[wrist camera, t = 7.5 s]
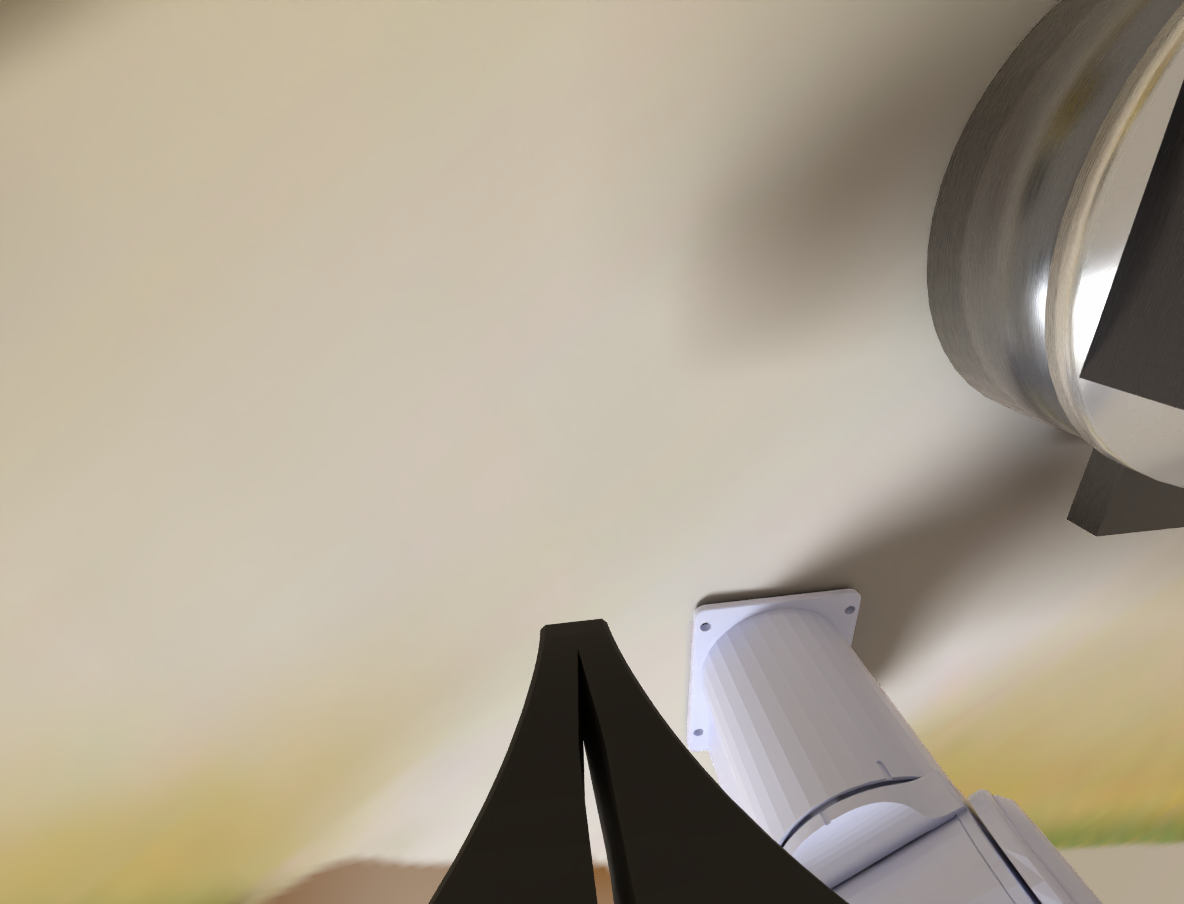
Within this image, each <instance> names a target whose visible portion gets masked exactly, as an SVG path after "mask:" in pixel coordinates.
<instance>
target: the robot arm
mask: <svg viewBox="0 0 1184 904" xmlns="http://www.w3.org/2000/svg"><path fill="white" fill-rule="evenodd" d="M860 603H861V596H860V594H859V593H858V592H857V591H856V590H855V589H840V590H832V591H823V592H814V593H805V594H796V595H787V596H778V597H769V598H760V599H751V600H742V601H733V602H725V603H716V604H707V605H702V606H699V607H698V608H697V609H696V610H695V611H694V614H693V630H692V649H691V667H690V685H689V704H688V722H687V740H686V741H687V745H688V748H689V749H690V750H691V751H694V752H698V751H705V750H708V752H709V754H710V757H711V760H712V763H713V766H714V769H715V772H716V775H717V778H718V780H719V783H720V786H721V787H720V786H719V785H718V784H717V783H716V782H715V780H714V779H713V778H712V777H711V776H710V775H709V774H708V773H707V772H706V771H705V769H704V768H703V767H702V766H701V765H700V764H699V762H698V761H697V760H696V759H695V758H694V757H693V755H692V754H691V753H690V752H689V751H688V750H687V748H686V747H685V746H684V745H683V743H682V742H681V741H680V740H679V738H678V737H677V736H676V734H675V733H674V732H673V731H672V729H671V728H670V727H669V725H668V724H667V723H666V721H665V720H664V719H663V717H662V716H661V715H660V713H659V712H658V710H657V709H656V708H655V706H654V705H653V703H652V702H651V700H650V699H649V697H648V696H647V694H646V693H645V691H644V690H643V688H642V687H641V685H640V684H639V682H638V681H637V679H636V678H635V676H634V674H633V673H632V671H631V669H630V668H629V666H628V664H627V663H626V661H625V659H624V657H623V655H622V654H621V652H620V650H619V648H618V646H617V644H616V642H615V640H614V638H613V636H612V634H611V632H610V629H609V627H608V624H607V622H605V621H604V620H603V619H595V620H586V621H577V622H569V623H560V624H551V625H545V626H544V627H543V628H542V629H541V630H540V643H539V650H538V655H537V660H536V664H535V669H534V673H533V677H532V680H531V684H530V687H529V690H528V694H527V697H526V700H525V704H524V707H523V710H522V713H521V716H520V719H519V721H518V724H517V727H516V730H515V732H514V735H513V738H512V740H511V743H510V746H509V748H508V751H507V753H506V756H505V758H504V761H503V763H502V765H501V768H500V770H499V772H498V775H497V777H496V779H495V781H494V783H493V786H492V788H491V790H490V792H489V794H488V796H487V798H486V801H485V803H484V805H483V807H482V809H481V811H480V813H479V815H478V816H477V818H476V820H475V822H474V824H473V826H472V828H471V830H470V832H469V834H468V836H467V838H466V840H465V842H464V844H463V845H462V847H461V849H460V851H459V853H458V855H457V856H456V858H455V860H454V862H453V863H452V865H451V867H450V868H449V870H448V872H447V874H446V875H445V877H444V878H443V880H442V882H441V884H440V885H439V887H438V889H437V891H436V892H435V894H434V895H433V897H432V899H431V900H430V902H429V904H597V896H596V888H595V881H594V873H593V864H592V856H591V848H590V840H589V832H588V823H587V815H586V807H585V790H584V749H583V741H584V746H585V751H586V755H587V760H588V765H589V770H590V775H591V780H592V785H593V790H594V794H595V799H596V804H597V809H598V814H599V819H600V824H601V828H602V833H603V838H604V843H605V848H606V853H607V859H608V865H609V871H610V876H611V884H612V892H613V900H614V904H1103V903H1102V902H1101V901H1100V900H1099V898H1098V897H1097V896H1096V895H1095V894H1094V893H1093V891H1092V890H1091V889H1090V888H1089V887H1088V885H1087V884H1086V883H1085V882H1084V881H1083V879H1082V878H1081V877H1080V876H1079V875H1078V874H1077V872H1076V871H1075V870H1074V869H1073V868H1072V866H1071V865H1070V864H1069V863H1068V862H1067V861H1066V859H1065V858H1064V857H1063V856H1062V855H1061V854H1060V852H1059V851H1058V850H1057V849H1056V848H1055V847H1054V845H1053V844H1052V843H1051V842H1050V841H1049V840H1048V838H1047V837H1046V836H1045V835H1044V834H1043V833H1042V831H1041V830H1040V829H1039V828H1038V827H1037V826H1036V825H1035V823H1034V822H1033V821H1032V820H1031V819H1030V818H1029V817H1028V815H1027V814H1026V813H1025V812H1024V811H1023V810H1022V809H1021V808H1020V807H1019V805H1018V804H1017V803H1016V802H1015V801H1013V800H1012V799H1008V798H1005V797H1002V796H999V795H994V796H993V795H992V794H991V793H990V792H989V791H988V790H985V789H980V790H978V791H976V792H975V793H973V794H971V795H970V796H969V800H968V799H967V798H966V797H965V796H964V795H963V794H962V793H961V792H960V791H959V790H958V789H957V788H956V787H955V786H954V784H953V783H952V782H951V780H950V779H949V778H948V776H947V775H946V774H945V772H944V771H943V770H942V768H941V767H940V766H939V764H938V763H937V761H936V760H935V759H934V757H933V756H932V755H931V753H930V752H929V751H928V749H927V748H926V747H925V745H924V744H923V743H922V741H921V740H920V739H919V737H918V736H917V735H916V733H915V732H914V731H913V729H912V728H911V727H910V725H909V724H908V723H907V721H906V720H905V719H904V717H903V716H902V715H901V713H900V712H899V711H898V709H897V708H896V707H895V705H894V704H893V703H892V701H891V700H890V699H889V697H888V696H887V695H886V693H885V692H884V691H883V689H882V688H881V687H880V685H879V684H878V683H877V681H876V680H875V679H874V677H873V676H872V675H871V673H870V672H869V671H868V669H867V668H866V667H865V665H864V664H863V663H862V661H861V660H860V659H859V657H858V656H857V655H856V653H855V652H854V650H853V649H852V648H851V645H852V640H853V636H854V631H855V626H856V622H857V617H858V612H859V608H860ZM847 607H848V608H847ZM706 622H707V624H706V625H702V624H703V623H706Z"/></svg>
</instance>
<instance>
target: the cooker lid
mask: <svg viewBox="0 0 1184 904" xmlns="http://www.w3.org/2000/svg"><path fill="white" fill-rule="evenodd" d="M1045 345H1046V352H1047V359H1048V366H1049V373H1050V376H1051V379H1052V382H1053V385H1054V388H1055V392H1056V395H1057V398H1058V400H1059V402H1060V404H1061V406H1062V408H1063V410H1064V412H1065V413H1066V415H1067V417H1068V419H1069V421H1070V423H1071V424H1072V425H1073V426H1074V428H1075V429H1076V430H1077V431H1078V432H1079V434H1080V435H1081V436H1082V437H1083V438H1084V439H1085V441H1086V442H1087V443H1089V444H1090V445H1091V446H1093V447H1094V448H1095V449H1096V450H1098V451H1099V452H1100V453H1101V454H1103V455H1104V456H1105V457H1107V458H1109V459H1111V460H1113V461H1115V462H1117V463H1119V464H1121V465H1123V466H1125V467H1128V468H1130V469H1132V470H1134V471H1137V472H1139V473H1141V474H1144V475H1146V476H1148V477H1151V478H1153V479H1155V480H1158V481H1161V482H1164V483H1168V484H1171V485H1175V486H1178V487H1182V488H1184V2H1183V3H1182V4H1181V5H1180V6H1179V8H1178V9H1177V10H1176V11H1175V13H1174V14H1173V15H1172V16H1171V18H1170V19H1169V20H1168V21H1167V23H1166V24H1165V25H1164V26H1163V28H1162V29H1161V30H1160V32H1159V33H1158V35H1157V36H1156V38H1155V39H1154V41H1153V42H1152V44H1151V45H1150V46H1149V48H1148V49H1147V51H1146V52H1145V54H1144V55H1143V57H1142V58H1141V60H1140V61H1139V63H1138V64H1137V66H1136V67H1135V68H1134V70H1133V71H1132V73H1131V74H1130V76H1129V77H1128V79H1127V81H1126V82H1125V84H1124V86H1123V88H1122V89H1121V91H1120V93H1119V95H1118V96H1117V98H1116V100H1115V102H1114V103H1113V105H1112V107H1111V109H1110V110H1109V112H1108V114H1107V116H1106V118H1105V119H1104V121H1103V123H1102V125H1101V126H1100V128H1099V130H1098V132H1097V135H1096V137H1095V139H1094V141H1093V143H1092V145H1091V148H1090V150H1089V152H1088V154H1087V156H1086V158H1085V161H1084V163H1083V165H1082V167H1081V169H1080V171H1079V174H1078V176H1077V178H1076V181H1075V184H1074V187H1073V190H1072V192H1071V195H1070V198H1069V201H1068V204H1067V207H1066V209H1065V212H1064V215H1063V218H1062V221H1061V224H1060V228H1059V232H1058V236H1057V240H1056V244H1055V248H1054V252H1053V256H1052V260H1051V265H1050V271H1049V279H1048V286H1047V294H1046V302H1045Z"/></svg>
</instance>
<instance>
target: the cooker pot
mask: <svg viewBox="0 0 1184 904" xmlns="http://www.w3.org/2000/svg"><path fill="white" fill-rule="evenodd" d="M1183 2H1184V0H1062V1H1061V2H1060V3H1059V4H1058V5H1057V6H1056V7H1055V8H1054V9H1053V10H1052V11H1050V12H1049V13H1048V14H1047V15H1046V16H1045V17H1044V18H1043V19H1042V20H1041V21H1040V22H1039V24H1038V25H1037V26H1036V27H1035V28H1034V29H1033V30H1032V31H1031V33H1030V34H1029V35H1028V36H1027V37H1026V38H1025V39H1024V40H1023V42H1022V43H1021V44H1020V45H1019V46H1018V47H1017V48H1016V50H1015V51H1014V52H1013V54H1012V55H1011V56H1010V58H1009V59H1008V60H1007V62H1006V63H1005V64H1004V66H1003V67H1002V68H1001V70H1000V71H999V73H998V74H997V75H996V77H995V78H994V79H993V81H992V82H991V84H990V85H989V87H988V89H987V90H986V92H985V94H984V95H983V97H982V99H981V100H980V102H979V104H978V105H977V107H976V109H975V110H974V112H973V114H972V115H971V117H970V119H969V121H968V123H967V125H966V127H965V129H964V131H963V134H962V136H961V138H960V140H959V142H958V144H957V146H956V148H955V150H954V153H953V155H952V158H951V161H950V163H949V166H948V169H947V171H946V174H945V177H944V179H943V182H942V185H941V188H940V192H939V196H938V200H937V204H936V207H935V211H934V215H933V220H932V226H931V233H930V239H929V246H928V263H927V284H928V295H929V306H930V310H931V314H932V318H933V322H934V327H935V330H936V333H937V335H938V338H939V340H940V342H941V345H942V347H943V350H944V352H945V353H946V355H947V357H948V358H949V360H950V361H951V363H952V365H953V366H954V368H955V369H956V370H957V371H958V373H959V374H960V375H961V376H962V377H963V378H964V379H965V380H966V381H967V382H968V384H969V385H971V386H972V387H973V388H975V389H976V390H977V391H979V392H980V393H981V394H983V395H984V396H985V397H987V398H989V399H991V400H993V401H995V402H997V403H999V404H1001V405H1003V406H1006V407H1008V408H1011V409H1013V410H1015V411H1018V412H1020V413H1023V414H1025V415H1027V416H1030V417H1032V418H1035V419H1037V420H1039V421H1042V422H1044V423H1047V424H1049V425H1051V426H1054V427H1056V428H1059V429H1061V430H1063V431H1066V432H1068V433H1071V434H1073V435H1075V436H1078V437H1080V438H1082V439H1084V438H1083V437H1082V436H1081V435H1080V434H1079V432H1078V431H1077V430H1076V429H1075V428H1074V426H1073V425H1072V424H1071V423H1070V421H1069V419H1068V417H1067V415H1066V413H1065V412H1064V410H1063V408H1062V406H1061V404H1060V402H1059V400H1058V398H1057V395H1056V392H1055V388H1054V385H1053V382H1052V379H1051V376H1050V373H1049V366H1048V359H1047V352H1046V345H1045V302H1046V294H1047V286H1048V279H1049V271H1050V265H1051V260H1052V256H1053V252H1054V248H1055V244H1056V240H1057V236H1058V232H1059V228H1060V224H1061V221H1062V218H1063V215H1064V212H1065V209H1066V207H1067V204H1068V201H1069V198H1070V195H1071V192H1072V190H1073V187H1074V184H1075V181H1076V178H1077V176H1078V174H1079V171H1080V169H1081V167H1082V165H1083V163H1084V161H1085V158H1086V156H1087V154H1088V152H1089V150H1090V148H1091V145H1092V143H1093V141H1094V139H1095V137H1096V135H1097V132H1098V130H1099V128H1100V126H1101V125H1102V123H1103V121H1104V119H1105V118H1106V116H1107V114H1108V112H1109V110H1110V109H1111V107H1112V105H1113V103H1114V102H1115V100H1116V98H1117V96H1118V95H1119V93H1120V91H1121V89H1122V88H1123V86H1124V84H1125V82H1126V81H1127V79H1128V77H1129V76H1130V74H1131V73H1132V71H1133V70H1134V68H1135V67H1136V66H1137V64H1138V63H1139V61H1140V60H1141V58H1142V57H1143V55H1144V54H1145V52H1146V51H1147V49H1148V48H1149V46H1150V45H1151V44H1152V42H1153V41H1154V39H1155V38H1156V36H1157V35H1158V33H1159V32H1160V30H1161V29H1162V28H1163V26H1164V25H1165V24H1166V23H1167V21H1168V20H1169V19H1170V18H1171V16H1172V15H1173V14H1174V13H1175V11H1176V10H1177V9H1178V8H1179V6H1180V5H1181V4H1182V3H1183ZM1067 520H1069V521H1071V522H1073V523H1074V524H1076V525H1078V526H1079V527H1081V528H1083V529H1085V530H1086V531H1088V532H1090V533H1092V534H1093V535H1095V536H1104V535H1113V534H1122V533H1131V532H1141V531H1150V530H1159V529H1169V528H1178V527H1184V488H1182V487H1178V486H1175V485H1171V484H1168V483H1164V482H1161V481H1158V480H1155V479H1153V478H1151V477H1148V476H1146V475H1144V474H1141V473H1139V472H1137V471H1134V470H1132V469H1130V468H1128V467H1125V466H1123V465H1121V464H1119V463H1117V462H1115V461H1113V460H1111V459H1109V458H1107V457H1105V456H1104V455H1103V454H1101V453H1100V452H1099V451H1098V450H1096V449H1095V448H1094V449H1093V452H1092V454H1091V457H1090V459H1089V462H1088V465H1087V467H1086V470H1085V472H1084V475H1083V478H1082V480H1081V483H1080V485H1079V488H1078V491H1077V493H1076V496H1075V498H1074V501H1073V504H1072V506H1071V509H1070V511H1069V514H1068V517H1067Z"/></svg>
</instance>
